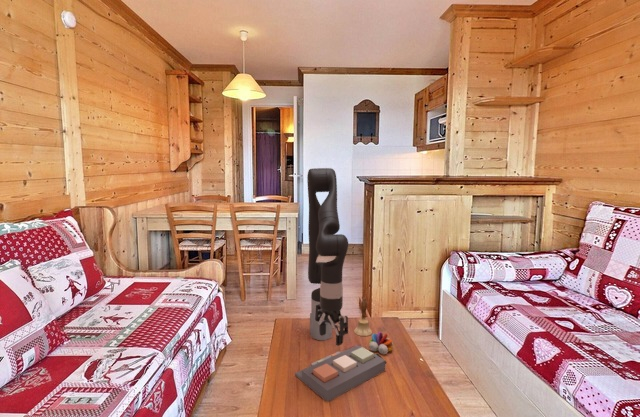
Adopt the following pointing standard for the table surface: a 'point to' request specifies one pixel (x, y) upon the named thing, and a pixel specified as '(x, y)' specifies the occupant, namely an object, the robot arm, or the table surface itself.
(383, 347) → the rainbow petal flower toy
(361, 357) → the key sage
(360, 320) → the hand bell
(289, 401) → the table surface
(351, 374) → the keypad
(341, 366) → the key cream
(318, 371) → the key terracotta
